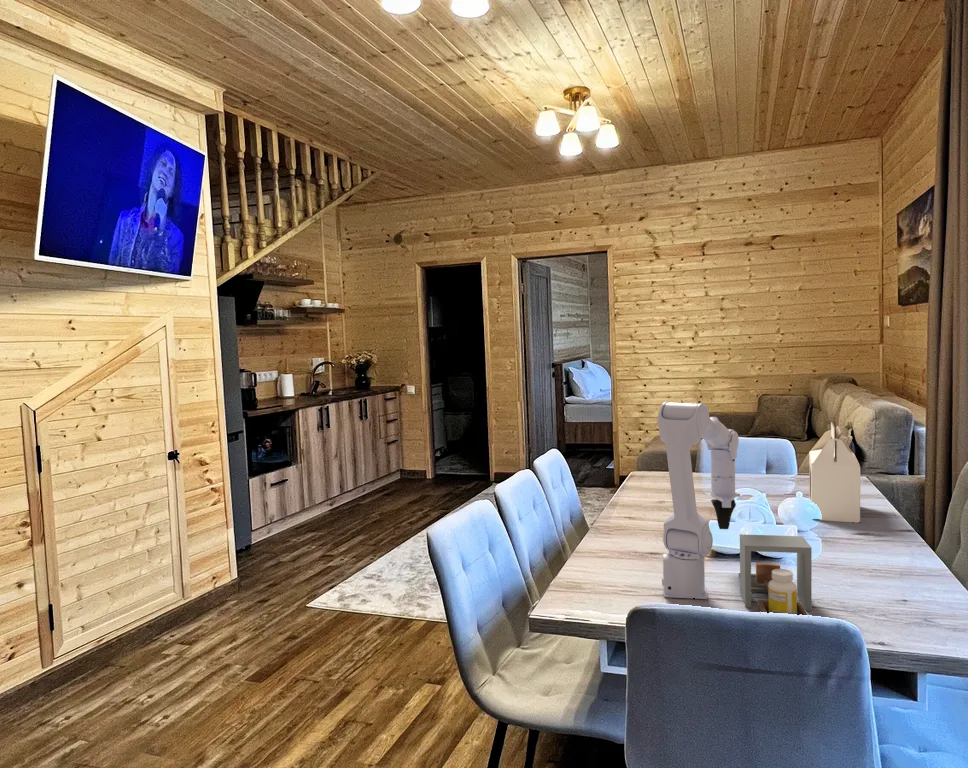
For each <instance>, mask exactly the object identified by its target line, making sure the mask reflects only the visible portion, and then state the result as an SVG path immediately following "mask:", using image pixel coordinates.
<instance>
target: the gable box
mask: <svg viewBox="0 0 968 768" xmlns="http://www.w3.org/2000/svg"><path fill="white" fill-rule="evenodd" d="M842 433H843V432H842V431H841V428H840V425H837V426H836V425H835V424H834V421H831V422H830V429H828V430H826V431H825V432H823V434H822V436H821V437H820V438H819V439H818V440H817V442H816V443H815V445H814V446H813V447H812V448H811V449H810V451H808V452H809V453H808V454H809V457H808V460H809V461H808V463H809V465H808V467H809V468H808V469H809V470H808V471H809V474H808V475H809V476H808V479H809V481H808V484H809V485H808V486H809V487H808V494H809V495H808V498H809V499H810V500H811V501H812V502H814V503H815V504H817V506H818V507H819V509H820V511H821V514H822V520H821V521H826V522H841V523H852V522H854V523H856V524H860V523H861V465H860V463H859V460H858V459H857V457H856V455H855V453H854V452H853V451H852V449H851V448H850V447H849V445H848V444H847V442H846V441H845V440H844V438H843V437H842ZM854 523H853V524H854Z"/></svg>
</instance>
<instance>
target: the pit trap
mask: <svg viewBox="0 0 968 768" xmlns="http://www.w3.org/2000/svg"><path fill="white" fill-rule="evenodd" d="M738 578H739V579H740V572H738ZM757 592H764V593H763V594H768V591H767V589H766V587H765V585H764V584H760V583H757V582H756V573H751V593H757Z"/></svg>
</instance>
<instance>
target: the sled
mask: <svg viewBox="0 0 968 768" xmlns="http://www.w3.org/2000/svg"><path fill="white" fill-rule="evenodd" d="M774 569H781V565H780V563H779V562H776V563H775V562H755V574H756V582H757V583H760V584H764V585H765V587H766V589H767V591H768V584H769V582H770V581H771V580H773V579H772V570H774ZM758 610H759V612H760V611H761V612H767V613H768V611H767V610H769V599H758ZM799 614H802V615H808V613H807V611H805V609H804V607H803V606H802V604H801V602H800V601H797V615H799Z"/></svg>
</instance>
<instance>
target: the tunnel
mask: <svg viewBox="0 0 968 768" xmlns="http://www.w3.org/2000/svg"><path fill="white" fill-rule="evenodd" d="M812 549H813V548H812V547H811V545H810V543H809V542H808V541H807V540H806V538H805V537H804V536H803V535H772V534H771V535H770V534H743V533H742V534H739V573H740V578H739V586H740V587H739V590H740V592H739V594H740V593H741V594H740V596H742V597H741V599H742V602H743V604H745V605H744V608H746V607H751V608H752V592H751V574H752V552H760V553H761V552H765V553H791V554H794V553H795V554H796V587H797V600H799V602H800V603H801V605H802V606H803V608H804V610H806V611H805V612H812V611H813V610H812V601H813V600H812V585H813V584H812V581H813V580H812V574H813V573H812V571H813V570H812V565H813V564H812V557H813V556H812Z"/></svg>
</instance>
